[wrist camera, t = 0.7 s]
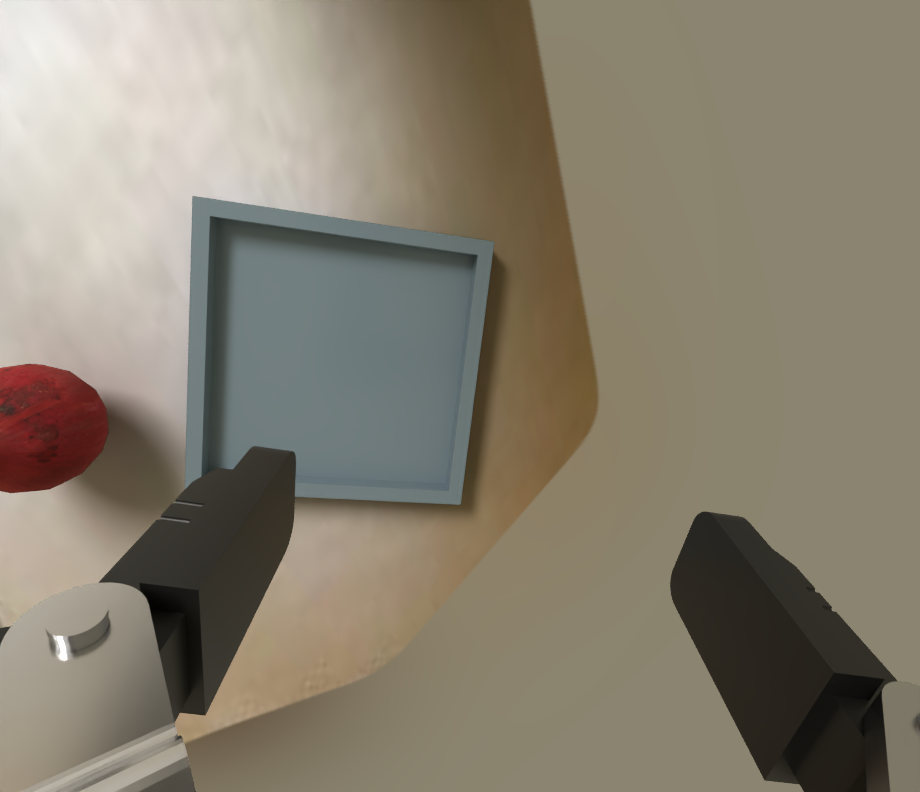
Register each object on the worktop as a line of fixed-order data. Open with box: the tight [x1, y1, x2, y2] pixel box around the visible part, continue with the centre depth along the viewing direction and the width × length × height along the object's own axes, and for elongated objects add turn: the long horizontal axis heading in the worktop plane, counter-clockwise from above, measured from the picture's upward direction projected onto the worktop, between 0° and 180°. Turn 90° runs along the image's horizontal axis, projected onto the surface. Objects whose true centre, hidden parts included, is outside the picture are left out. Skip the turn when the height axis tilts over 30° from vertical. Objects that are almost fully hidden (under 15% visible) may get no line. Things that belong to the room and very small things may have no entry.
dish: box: [185, 196, 494, 505], centre depth 27 cm, size 15×15×2 cm
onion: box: [0, 364, 108, 493], centre depth 22 cm, size 6×6×8 cm
